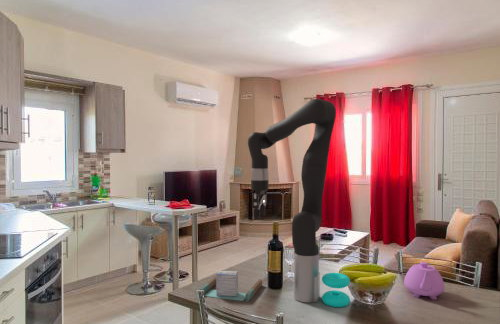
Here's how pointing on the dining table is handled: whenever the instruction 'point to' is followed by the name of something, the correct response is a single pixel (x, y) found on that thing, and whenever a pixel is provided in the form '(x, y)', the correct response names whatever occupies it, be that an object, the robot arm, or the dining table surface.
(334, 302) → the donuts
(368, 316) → the dining table surface
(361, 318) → the dining table surface
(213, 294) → the front pad
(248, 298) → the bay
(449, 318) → the dining table surface
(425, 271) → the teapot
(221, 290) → the medicine box
